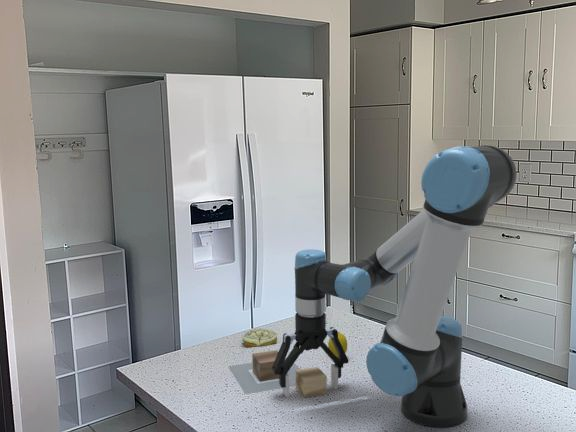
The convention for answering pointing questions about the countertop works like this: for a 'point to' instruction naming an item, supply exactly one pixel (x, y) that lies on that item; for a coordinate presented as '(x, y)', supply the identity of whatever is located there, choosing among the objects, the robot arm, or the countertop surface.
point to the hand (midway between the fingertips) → (310, 394)
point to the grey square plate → (253, 384)
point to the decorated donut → (259, 338)
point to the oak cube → (311, 382)
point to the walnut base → (264, 365)
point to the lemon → (342, 341)
